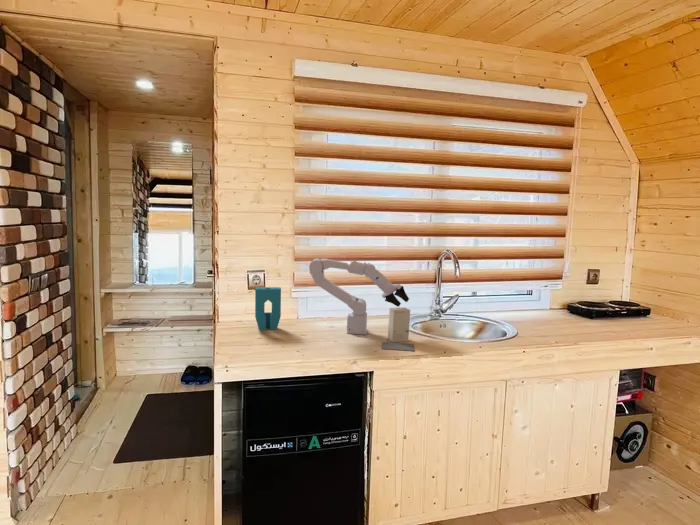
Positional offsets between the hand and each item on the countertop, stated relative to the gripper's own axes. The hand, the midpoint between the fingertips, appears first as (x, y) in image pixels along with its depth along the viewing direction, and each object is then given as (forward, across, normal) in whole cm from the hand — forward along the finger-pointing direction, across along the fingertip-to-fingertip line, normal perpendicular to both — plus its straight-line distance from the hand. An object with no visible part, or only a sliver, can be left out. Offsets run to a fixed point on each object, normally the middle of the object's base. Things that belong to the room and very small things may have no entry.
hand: (403, 302), depth 219 cm
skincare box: (+8, +1, +17) cm, 19 cm away
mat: (+8, -7, +24) cm, 26 cm away
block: (-38, +35, +42) cm, 67 cm away
